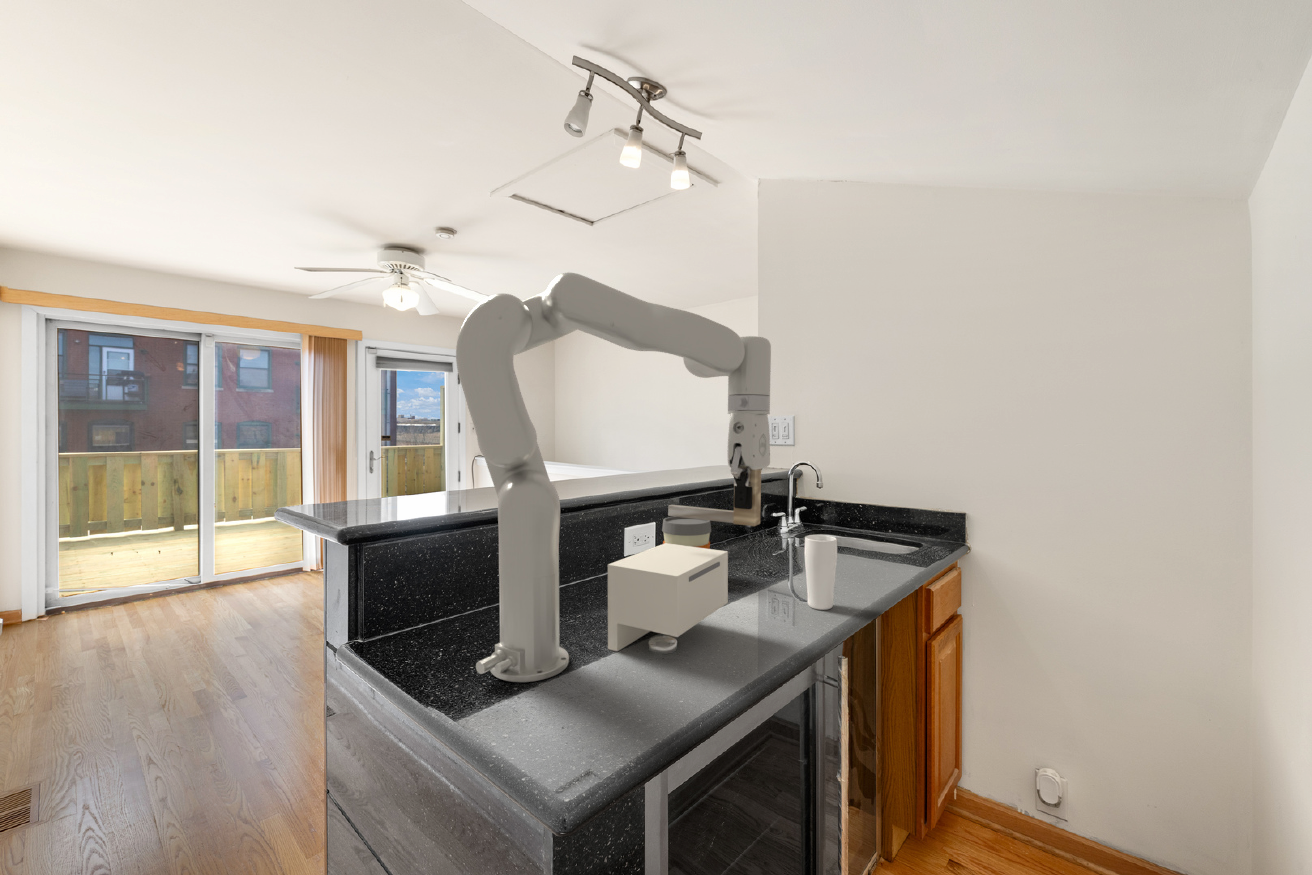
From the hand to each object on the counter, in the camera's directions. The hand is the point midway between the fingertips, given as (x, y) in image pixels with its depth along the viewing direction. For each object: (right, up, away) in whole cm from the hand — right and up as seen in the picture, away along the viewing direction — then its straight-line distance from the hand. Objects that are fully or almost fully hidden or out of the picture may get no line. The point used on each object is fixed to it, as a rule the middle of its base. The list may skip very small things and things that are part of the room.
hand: (746, 506), depth 100 cm
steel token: (-15, -25, -3) cm, 29 cm away
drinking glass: (+19, -24, +19) cm, 36 cm away
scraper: (-6, -3, +4) cm, 8 cm away
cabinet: (-14, -25, +2) cm, 28 cm away
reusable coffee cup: (-9, -24, +41) cm, 48 cm away
